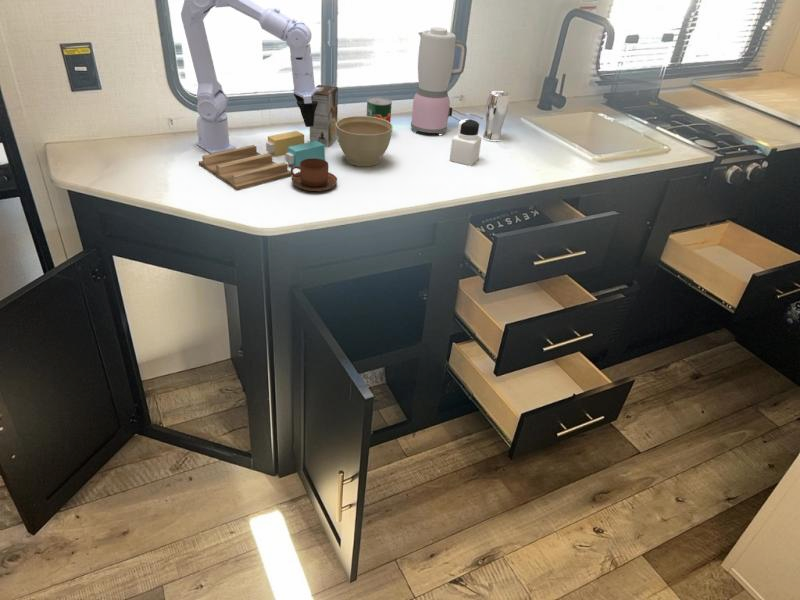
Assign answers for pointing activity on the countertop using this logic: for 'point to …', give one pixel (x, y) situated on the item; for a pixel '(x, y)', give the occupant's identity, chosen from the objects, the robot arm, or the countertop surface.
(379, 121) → the planter bowl
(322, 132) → the coffee box
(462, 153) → the medicine bottle
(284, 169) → the comb board
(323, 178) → the cup and saucer
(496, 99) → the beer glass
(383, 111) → the canned tomato
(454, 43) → the blender
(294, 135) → the ochre plug block
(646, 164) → the countertop surface
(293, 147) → the teal plug block
